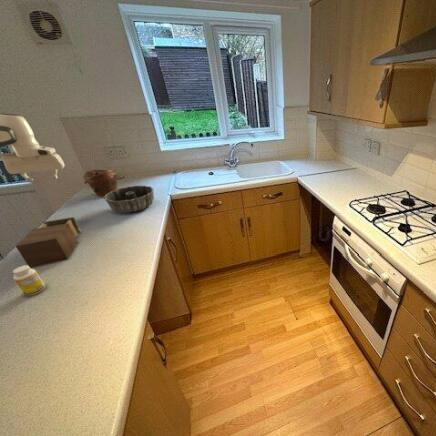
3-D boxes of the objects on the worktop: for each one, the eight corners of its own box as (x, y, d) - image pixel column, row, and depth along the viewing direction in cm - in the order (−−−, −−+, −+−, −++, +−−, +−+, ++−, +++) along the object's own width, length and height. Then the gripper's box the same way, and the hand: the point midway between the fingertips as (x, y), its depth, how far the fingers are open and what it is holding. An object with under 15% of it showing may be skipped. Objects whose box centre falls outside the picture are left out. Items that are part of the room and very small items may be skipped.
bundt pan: (165, 204, 156) (161, 190, 151) (122, 220, 136) (115, 204, 132) (144, 196, 169) (140, 182, 164) (102, 209, 150) (96, 194, 145)
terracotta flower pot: (94, 191, 178) (84, 168, 170) (125, 187, 185) (117, 164, 176) (86, 200, 163) (75, 175, 155) (120, 195, 170) (111, 171, 162)
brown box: (44, 249, 112) (32, 229, 107) (78, 242, 116) (68, 223, 111) (29, 267, 100) (15, 246, 95) (67, 259, 105) (56, 238, 100)
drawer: (56, 233, 123) (47, 217, 119) (83, 228, 127) (76, 213, 123) (41, 251, 108) (31, 234, 104) (73, 245, 113) (64, 228, 109)
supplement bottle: (27, 288, 89) (12, 267, 84) (47, 283, 91) (34, 261, 87) (22, 298, 85) (6, 276, 80) (43, 292, 87) (29, 270, 82)
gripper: (-6, 155, 104) (11, 185, 111) (53, 150, 112) (66, 178, 118) (2, 152, 109) (18, 181, 116) (58, 148, 117) (71, 175, 123)
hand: (43, 180), depth 117 cm, fingers open, 8 cm apart
